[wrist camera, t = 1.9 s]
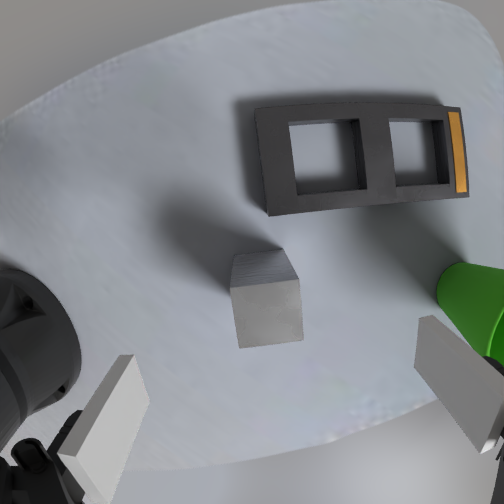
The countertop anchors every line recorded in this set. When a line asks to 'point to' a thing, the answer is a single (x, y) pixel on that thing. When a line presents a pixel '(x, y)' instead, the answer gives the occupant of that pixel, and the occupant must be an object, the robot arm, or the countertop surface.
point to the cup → (475, 306)
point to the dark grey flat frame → (360, 155)
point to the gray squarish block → (265, 299)
